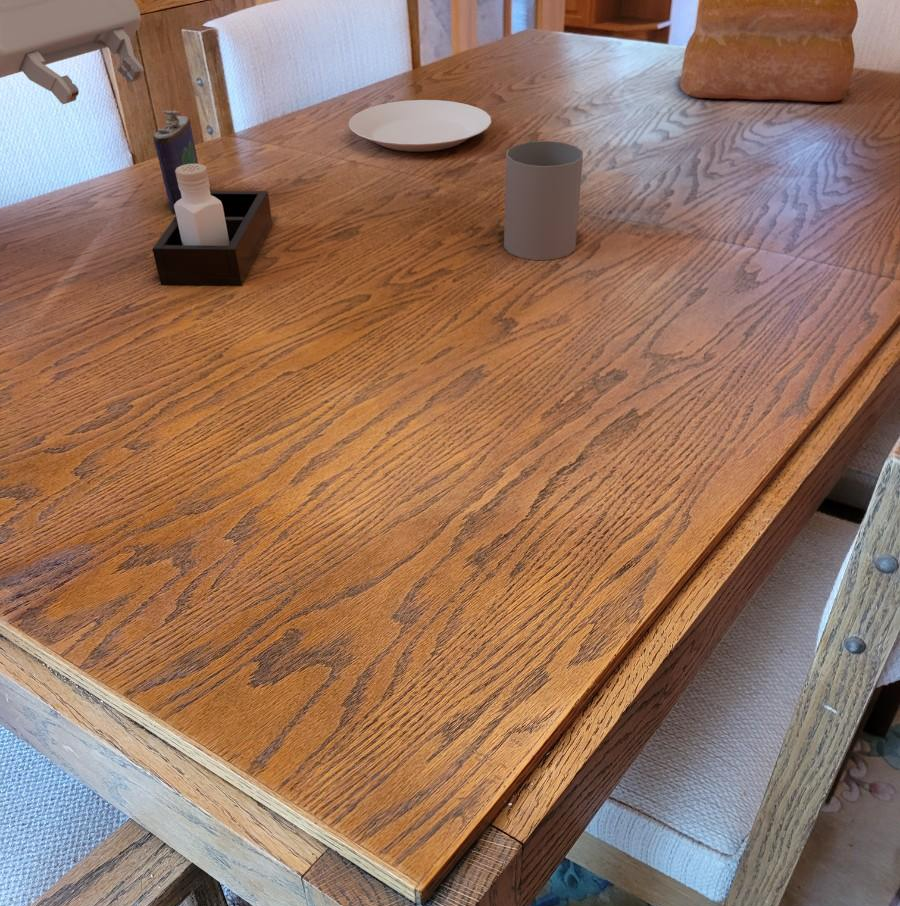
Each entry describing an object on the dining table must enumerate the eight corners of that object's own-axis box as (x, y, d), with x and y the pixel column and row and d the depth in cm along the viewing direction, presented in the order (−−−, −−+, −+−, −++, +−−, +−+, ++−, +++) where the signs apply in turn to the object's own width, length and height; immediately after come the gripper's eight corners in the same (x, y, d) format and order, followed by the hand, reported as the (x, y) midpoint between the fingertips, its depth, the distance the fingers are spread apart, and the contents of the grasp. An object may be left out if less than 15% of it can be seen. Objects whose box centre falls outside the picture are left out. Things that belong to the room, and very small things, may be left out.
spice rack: (160, 285, 98) (151, 248, 96) (200, 224, 111) (193, 190, 108) (241, 285, 98) (235, 249, 95) (272, 224, 110) (267, 190, 107)
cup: (494, 254, 103) (496, 161, 96) (515, 227, 108) (518, 138, 101) (566, 264, 101) (573, 170, 94) (583, 236, 106) (591, 145, 99)
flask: (188, 188, 120) (170, 98, 112) (209, 188, 119) (193, 99, 112) (166, 214, 113) (146, 122, 105) (189, 215, 113) (170, 122, 105)
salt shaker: (205, 269, 98) (186, 178, 92) (183, 259, 100) (163, 169, 94) (234, 257, 100) (218, 167, 94) (212, 247, 102) (194, 159, 96)
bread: (678, 79, 154) (693, -28, 143) (837, 83, 150) (865, -26, 140) (679, 101, 144) (696, -12, 134) (849, 107, 141) (880, -9, 130)
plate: (519, 141, 131) (520, 124, 130) (397, 171, 123) (396, 154, 121) (440, 107, 144) (440, 92, 142) (324, 132, 136) (323, 116, 134)
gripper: (-76, -45, 81) (37, 89, 84) (90, -72, 94) (182, 45, 97) (-89, 9, 86) (19, 134, 89) (71, -24, 99) (160, 86, 102)
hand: (105, 87), depth 93 cm, fingers open, 8 cm apart
